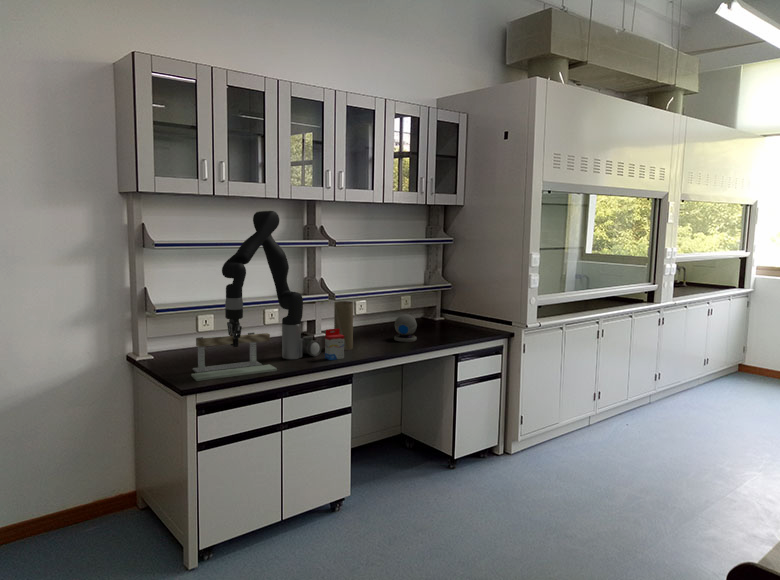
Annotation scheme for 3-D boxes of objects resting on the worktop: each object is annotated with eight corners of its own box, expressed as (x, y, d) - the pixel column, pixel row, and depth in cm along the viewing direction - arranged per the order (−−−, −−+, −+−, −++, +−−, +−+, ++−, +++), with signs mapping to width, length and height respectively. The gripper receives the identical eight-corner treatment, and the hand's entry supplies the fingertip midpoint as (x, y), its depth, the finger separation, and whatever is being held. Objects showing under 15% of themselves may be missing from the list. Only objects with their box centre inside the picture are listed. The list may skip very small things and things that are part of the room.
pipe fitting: (323, 354, 300) (320, 334, 299) (311, 358, 294) (308, 338, 293) (307, 353, 308) (304, 334, 307) (295, 357, 302) (293, 337, 301)
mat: (269, 366, 275) (269, 364, 275) (276, 370, 268) (276, 368, 268) (191, 376, 256) (191, 373, 256) (196, 381, 249) (196, 378, 249)
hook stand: (256, 362, 282) (256, 331, 280) (262, 366, 276) (261, 334, 274) (192, 370, 266) (191, 337, 265) (197, 374, 260) (196, 340, 258)
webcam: (418, 338, 348) (418, 313, 347) (413, 342, 336) (414, 316, 334) (397, 336, 351) (397, 312, 350) (391, 340, 339) (392, 315, 337)
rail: (267, 339, 270) (267, 333, 270) (269, 340, 268) (269, 334, 267) (196, 345, 253) (196, 338, 253) (198, 346, 251) (198, 339, 250)
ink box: (329, 360, 289) (329, 331, 287) (324, 358, 293) (324, 329, 291) (344, 358, 294) (344, 329, 292) (339, 356, 298) (339, 328, 296)
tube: (344, 345, 325) (344, 300, 322) (356, 348, 318) (356, 302, 315) (330, 348, 317) (330, 302, 314) (342, 351, 310) (343, 304, 308)
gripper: (247, 309, 255) (247, 348, 257) (237, 305, 267) (237, 342, 269) (230, 310, 251) (230, 349, 253) (221, 306, 263) (221, 344, 265)
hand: (234, 345), depth 261 cm, fingers closed on rail, 3 cm apart
